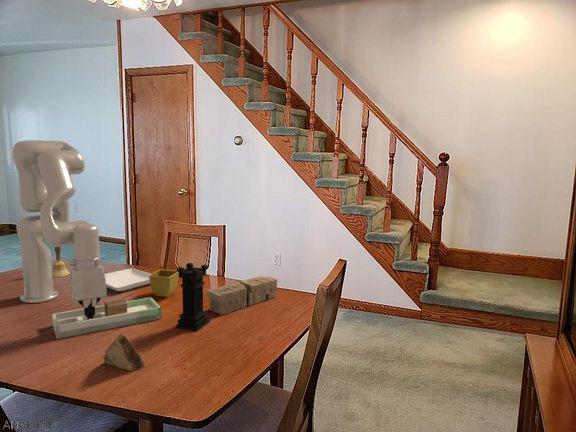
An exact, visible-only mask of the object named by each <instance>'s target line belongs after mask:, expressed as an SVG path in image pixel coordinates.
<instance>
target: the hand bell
mask: <svg viewBox="0 0 576 432" xmlns="http://www.w3.org/2000/svg"><path fill="white" fill-rule="evenodd" d="M53 248H54V252H55V259H56V261H55V262H53V265H52V266H53V267H52V278H62V277H66V276H69V275H71V272H70V271H69V270H68V269H67V268H66V265H65V262H64V261H62V259H61V250H62V249H61V248H62V246H60V247H53Z"/></svg>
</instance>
